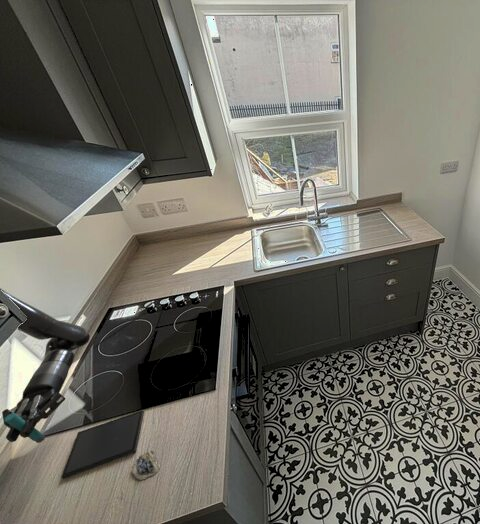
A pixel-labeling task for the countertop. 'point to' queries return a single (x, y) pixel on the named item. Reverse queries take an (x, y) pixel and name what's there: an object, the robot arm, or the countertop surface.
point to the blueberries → (145, 466)
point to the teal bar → (19, 423)
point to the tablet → (104, 444)
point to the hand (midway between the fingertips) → (17, 437)
